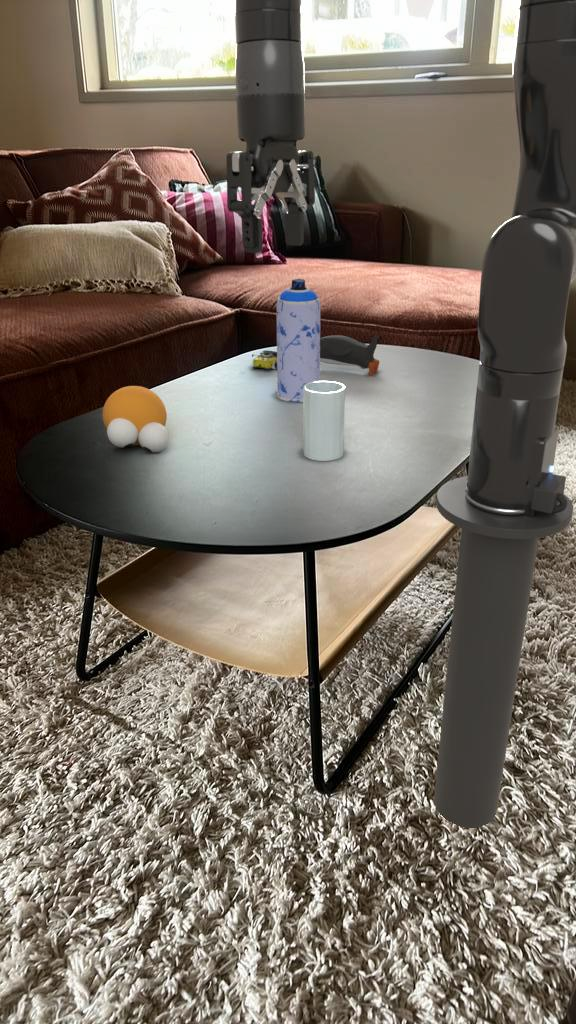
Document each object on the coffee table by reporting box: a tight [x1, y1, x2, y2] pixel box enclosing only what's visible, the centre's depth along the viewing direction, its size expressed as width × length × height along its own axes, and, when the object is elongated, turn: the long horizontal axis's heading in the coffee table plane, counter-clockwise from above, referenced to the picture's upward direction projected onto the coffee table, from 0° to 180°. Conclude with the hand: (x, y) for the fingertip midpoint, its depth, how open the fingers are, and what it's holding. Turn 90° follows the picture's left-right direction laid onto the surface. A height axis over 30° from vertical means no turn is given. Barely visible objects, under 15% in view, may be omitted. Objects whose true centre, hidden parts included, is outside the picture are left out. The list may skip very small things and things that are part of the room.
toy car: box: [251, 350, 277, 371], centre depth 155 cm, size 5×10×3 cm, turn 155°
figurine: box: [320, 334, 380, 376], centre depth 150 cm, size 7×10×15 cm
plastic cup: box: [302, 380, 346, 462], centre depth 109 cm, size 6×6×10 cm
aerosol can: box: [275, 278, 321, 403], centre depth 132 cm, size 8×8×20 cm
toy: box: [102, 385, 170, 453], centre depth 114 cm, size 9×10×15 cm
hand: (274, 248), depth 90 cm, fingers open, 8 cm apart
